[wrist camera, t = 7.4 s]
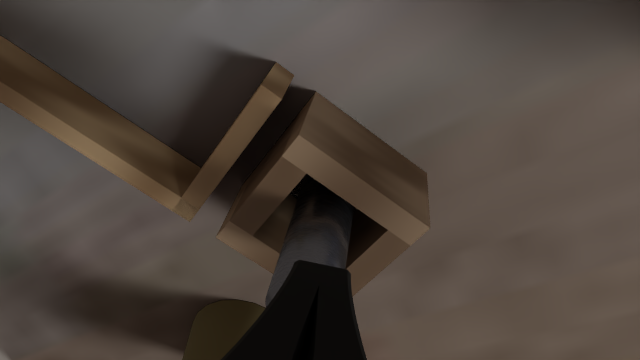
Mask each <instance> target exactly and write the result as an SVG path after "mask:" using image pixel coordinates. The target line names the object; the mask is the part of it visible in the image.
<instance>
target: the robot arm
mask: <svg viewBox="0 0 640 360" xmlns="http://www.w3.org/2000/svg"><path fill="white" fill-rule="evenodd" d="M221 360H367V358H366V355H365V352H364V348H363V345H362V341H361V337H360V333H359V328H358V324H357V320H356V315H355V310H354V304H353V297H352V289H351V273H350V272H349V271H348V270H347V269H342V268H338V267H333V266H328V265H323V264H318V263H313V262H309V261H304V260H298V261H296V262H294V265H293V267H292V269H291V271H290V273H289V275H288V276H287V278H286V280H285V281H284V283H283V285H282V286H281V288H280V289H279V291H278V292H277V293H276V295H275V296H274V298H273V299H272V300H271V302H270V303H269V304H268V306H267V307H266V308H265V310H264V311H263V312H262V314H261V315H260V316H259V318H258V319H257V320H256V321H255V322H254V324H253V325H252V326H251V327H250V328H249V329H248V330H247V332H246V333H245V334H244V335H243V336H242V337H241V339H240V340H239V341H238V342H237V343H236V344H235V345H234V346H233V347H232V348H231V349H230V351H229V352H228V353H227V354H226V355H225V356H224V357H223V358H222V359H221Z"/></svg>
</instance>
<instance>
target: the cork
mask: <svg viewBox="0 0 640 360" xmlns="http://www.w3.org/2000/svg"><path fill="white" fill-rule="evenodd" d="M264 310H265V308H264V307H262V306H259V305H257V304H255V303H251V302H246V301H241V300H221V301H218V302H215V303H212V304H208V305H207V306H205V307H204V308H203V309H202V310H200V311H199V312H198V313H197V315H196V317H195V319H194V321H193V324H192V327H191V331H190V334H189V338H188V341H187V345H186V349H185V352H184V356H183V359H182V360H221V359H222V358H223V357H224V356H225V355H226V354H227V353H228V352H229V351H230V349H231V348H232V347H233V346H234V345H235V344H236V343H237V342H238V341H239V340H240V339H241V337H242V336H243V335H244V334H245V333H246V332H247V330H248V329H249V328H250V327H251V326H252V325H253V324H254V322H255V321H256V320H257V319H258V318H259V316H260V315H261V314H262V312H263V311H264Z"/></svg>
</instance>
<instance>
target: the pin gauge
mask: <svg viewBox="0 0 640 360" xmlns="http://www.w3.org/2000/svg"><path fill="white" fill-rule="evenodd" d="M353 212H354V206H353V205H351V204H350V203H348V202H347V201H346V200H344V199H343V198H341V197H340V196H338V195H337V194H335V193H334V192H333V191H331V190H330V189H328V188H327V187H325V186H324V185H322V184H321V183H320V182H318V181H317V180H315V179H314V178H312V177H311V176H310V175H308V174H306V175H305V176H304V179H303V182H302V185H301V189H300V192H299V195H298V198H297V201H296V204H295V208H294V211H293V214H292V217H291V220H290V223H289V226H288V230H287V233H286V236H285V239H284V242H283V245H282V249H281V252H280V255H279V258H278V261H277V264H276V267H275V271H274V274H273V277H272V280H271V283H270V286H269V290H268V293H267V296H266V307H267V306H268V304H269V303H270V302H271V300H272V299H273V298H274V296H275V295H276V293H277V292H278V291H279V289H280V288H281V286H282V285H283V283H284V281H285V280H286V278H287V276H288V275H289V273H290V271H291V269H292V267H293V265H294V262H296V261H298V260H304V261H309V262H313V263H318V264H323V265H328V266H333V267H338V268H342V269H345V268H346V261H347V254H348V247H349V240H350V233H351V226H352V219H353Z"/></svg>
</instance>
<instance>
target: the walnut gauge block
mask: <svg viewBox="0 0 640 360" xmlns="http://www.w3.org/2000/svg"><path fill="white" fill-rule="evenodd" d="M306 174H308V175H310V176H311V177H312V178H314V179H315V180H317V181H318V182H320V183H321V184H322V185H324V186H325V187H327V188H328V189H330V190H331V191H333V192H334V193H335V194H337V195H338V196H340V197H341V198H343V199H344V200H346V201H347V202H348V203H350V204H351V205H353V206H354V207H356V208H357V210H356V211H355V212H354V213H353V219H352V226H351V233H350V240H349V247H348V254H347V261H346V268H345V269H347V270H348V271H349V272H350V273H351V289H352V297H353V296H354V295H355V294H356V293H357V292H358V291H359V290H361V289H362V288H363V287H364V286H365V285H366V284H367V283H368V282H370V281H371V280H372V279H373V278H374V277H375V276H376V275H378V274H379V273H380V272H381V271H382V270H383V269H384V268H386V267H387V266H388V265H389V264H390V263H391V262H392V261H394V260H395V259H396V258H397V257H398V256H399V255H400V254H402V253H403V252H404V251H405V250H406V249H407V248H408V247H409V246H411V245H412V244H413V243H414V242H415V241H416V240H417V239H419V238H420V237H421V236H422V235H423V234H424V233H425V232H427V231H428V230H429V229H430V216H429V200H428V185H427V173H426V172H424V171H423V170H422V169H420V168H419V167H417V166H416V165H415V164H413V163H412V162H411V161H409V160H408V159H407V158H405V157H404V156H403V155H401V154H400V153H398V152H397V151H396V150H394V149H393V148H392V147H390V146H389V145H388V144H386V143H385V142H384V141H382V140H381V139H380V138H378V137H377V136H375V135H374V134H373V133H371V132H370V131H369V130H367V129H366V128H365V127H363V126H362V125H361V124H359V123H358V122H357V121H355V120H354V119H352V118H351V117H350V116H348V115H347V114H346V113H344V112H343V111H342V110H340V109H339V108H338V107H336V106H335V105H334V104H332V103H331V102H329V101H328V100H327V99H325V98H324V97H323V96H321V95H320V94H319V93H317V92H315V93H314V95H313V96H312V97H311V99H310V100H309V101H308V102H307V104H306V105H305V106H304V107H303V109H302V110H301V111H300V112H299V114H298V115H297V116H296V118H295V119H294V120H293V121H292V123H291V124H290V125H289V126H288V128H287V129H286V130H285V132H284V133H283V134H282V135H281V137H280V138H279V139H278V140H277V142H276V143H275V144H274V146H273V147H272V148H271V149H270V151H269V152H268V153H267V154H266V156H265V157H264V158H263V160H262V161H261V162H260V163H259V165H258V166H257V167H256V168H255V170H254V171H253V172H252V174H251V175H250V176H249V177H248V179H247V180H246V181H245V182H244V184H243V185H242V187H241V189H240V191H239V193H238V195H237V197H236V199H235V201H234V203H233V205H232V206H231V208H230V210H229V212H228V214H227V216H226V218H225V220H224V222H223V224H222V226H221V228H220V230H219V232H218V234H217V236H216V238H217V239H219V240H221V241H222V242H224V243H225V244H227V245H228V246H230V247H232V248H233V249H235V250H236V251H238V252H239V253H241V254H243V255H244V256H246V257H247V258H249V259H251V260H252V261H254V262H255V263H257V264H258V265H260V266H262V267H263V268H265V269H266V270H268V271H269V272H271V273H273V274H274V271H275V267H276V264H277V261H278V258H279V255H280V252H281V249H282V245H283V242H284V239H285V236H286V233H287V230H288V226H289V223H290V220H291V217H292V214H293V211H294V208H295V204H296V201H297V198H295V197H294V196H292V195H291V194H289V193H290V192H291V191H292V190H293V189H294V187H295V186H296V185H297V184H298V183H299V182H300V181H301V179H302V178H303V177H304V176H305V175H306Z"/></svg>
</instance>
